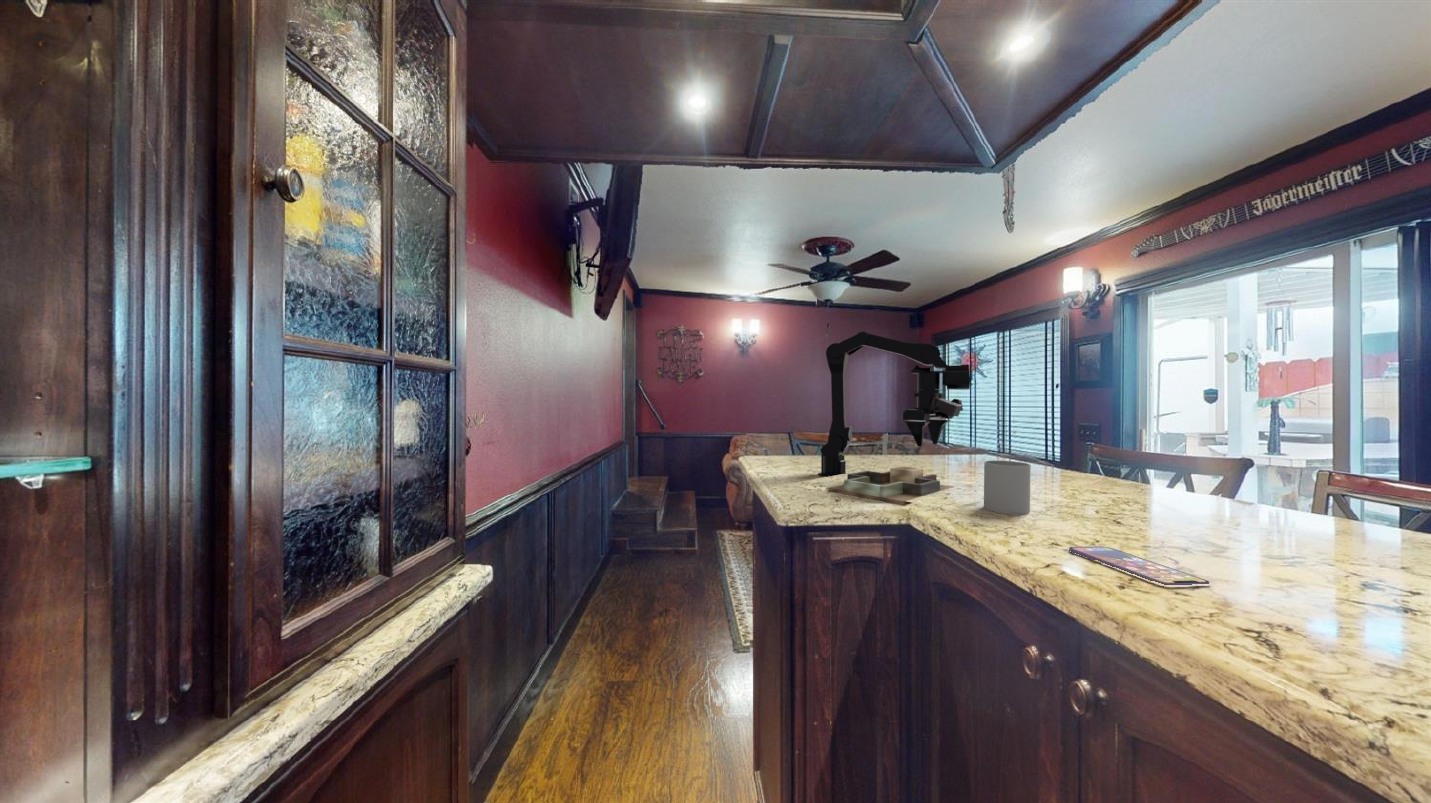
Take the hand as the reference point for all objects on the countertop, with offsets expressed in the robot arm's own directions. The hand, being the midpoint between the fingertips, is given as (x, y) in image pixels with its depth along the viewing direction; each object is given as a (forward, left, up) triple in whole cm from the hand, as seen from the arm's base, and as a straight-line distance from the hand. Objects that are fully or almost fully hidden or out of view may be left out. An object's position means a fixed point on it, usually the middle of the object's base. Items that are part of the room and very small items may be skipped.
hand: (927, 445), depth 134 cm
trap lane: (0, -19, -10) cm, 22 cm away
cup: (+26, -19, -11) cm, 34 cm away
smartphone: (+50, -43, -11) cm, 67 cm away
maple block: (0, -12, -9) cm, 15 cm away
